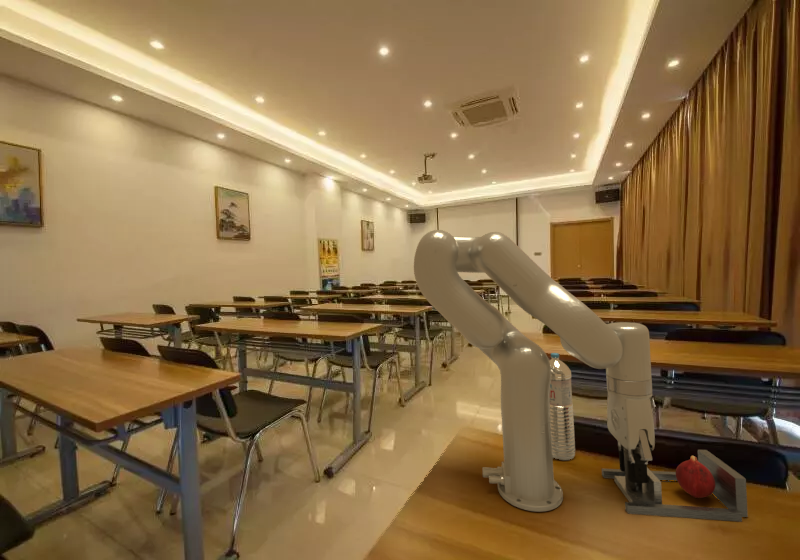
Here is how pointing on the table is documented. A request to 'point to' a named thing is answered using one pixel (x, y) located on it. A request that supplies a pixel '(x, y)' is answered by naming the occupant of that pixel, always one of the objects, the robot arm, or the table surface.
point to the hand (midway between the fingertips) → (633, 475)
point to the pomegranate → (695, 478)
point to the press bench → (726, 490)
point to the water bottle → (561, 410)
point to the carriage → (639, 486)
